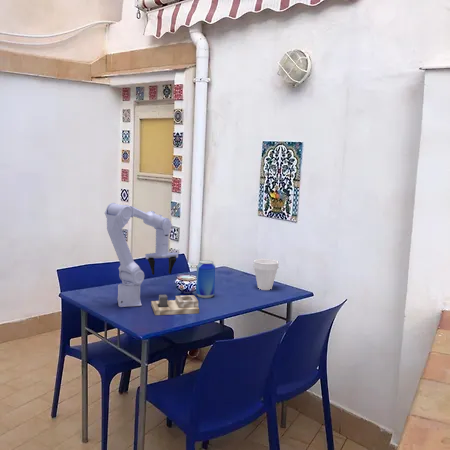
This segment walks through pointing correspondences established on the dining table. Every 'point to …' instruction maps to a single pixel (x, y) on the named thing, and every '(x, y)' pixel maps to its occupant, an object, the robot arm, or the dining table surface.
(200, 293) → the beer can
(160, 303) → the plug
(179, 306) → the beige stepped block
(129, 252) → the robot arm
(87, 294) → the dining table surface
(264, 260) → the cup
